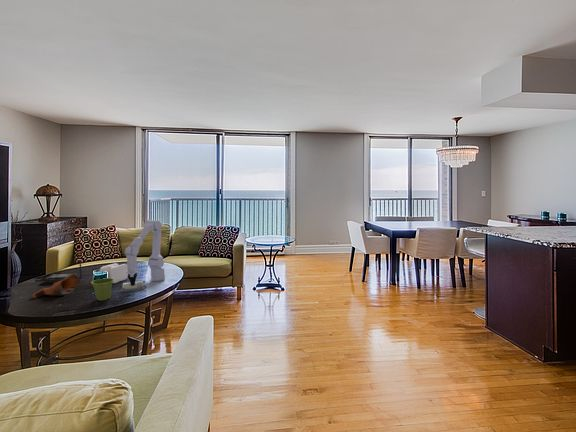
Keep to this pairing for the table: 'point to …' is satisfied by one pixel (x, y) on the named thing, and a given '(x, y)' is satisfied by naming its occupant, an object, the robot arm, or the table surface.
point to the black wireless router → (60, 276)
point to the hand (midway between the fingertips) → (133, 284)
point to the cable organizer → (116, 272)
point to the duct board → (133, 288)
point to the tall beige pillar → (137, 285)
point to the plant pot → (103, 288)
